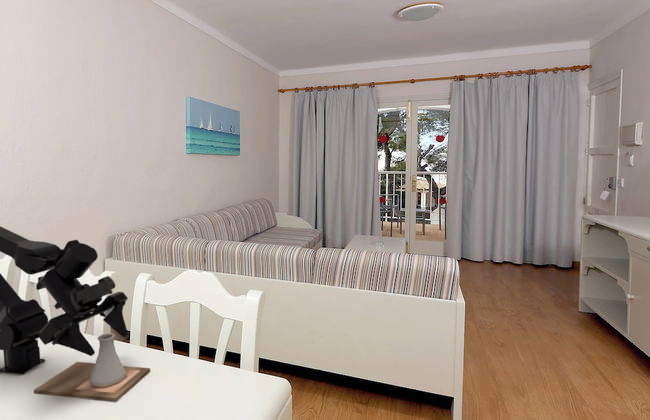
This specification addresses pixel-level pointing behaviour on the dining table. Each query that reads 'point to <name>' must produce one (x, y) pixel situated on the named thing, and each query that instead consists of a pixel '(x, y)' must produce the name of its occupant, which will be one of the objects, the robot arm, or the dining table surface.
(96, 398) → the walnut board
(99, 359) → the flask
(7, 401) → the dining table surface
